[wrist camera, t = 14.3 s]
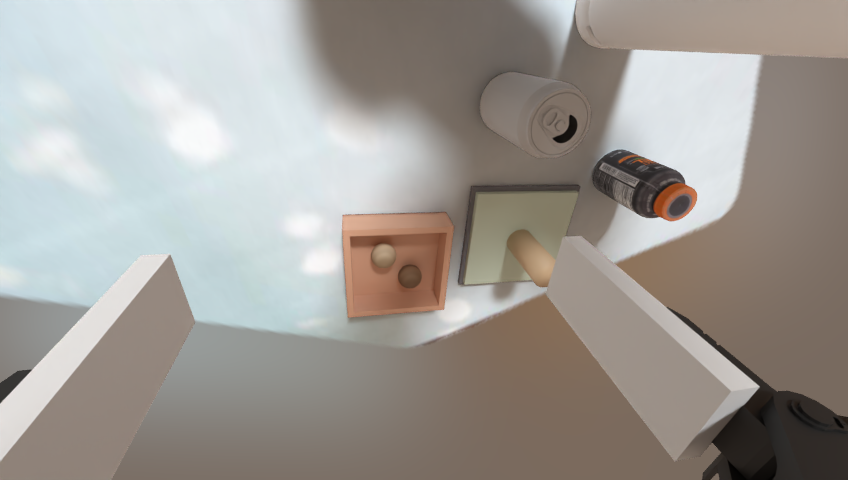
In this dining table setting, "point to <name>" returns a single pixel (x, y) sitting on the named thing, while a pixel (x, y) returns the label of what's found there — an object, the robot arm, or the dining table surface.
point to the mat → (499, 189)
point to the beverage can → (536, 113)
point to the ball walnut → (409, 276)
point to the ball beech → (383, 255)
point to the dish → (396, 262)
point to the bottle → (718, 26)
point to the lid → (517, 235)
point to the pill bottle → (644, 186)
